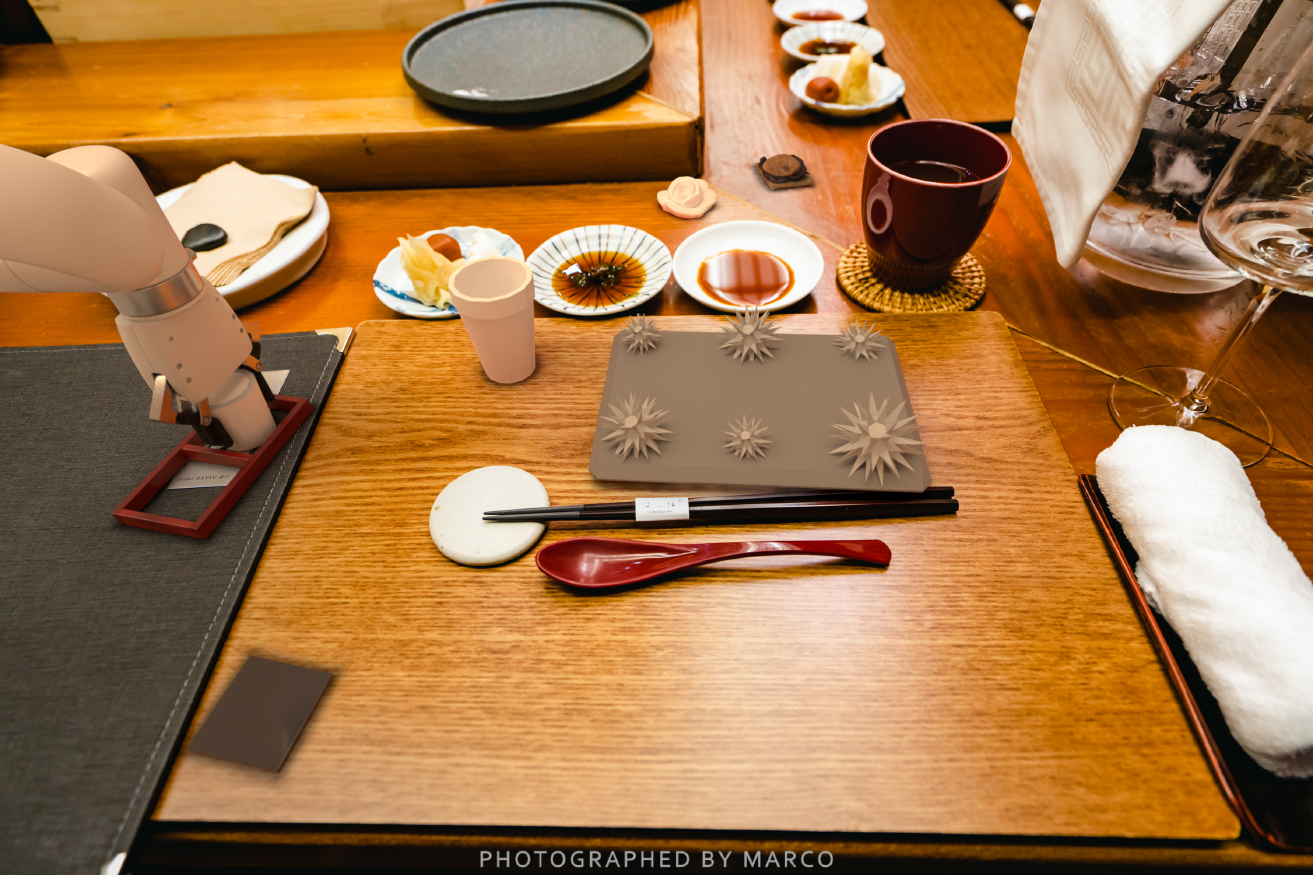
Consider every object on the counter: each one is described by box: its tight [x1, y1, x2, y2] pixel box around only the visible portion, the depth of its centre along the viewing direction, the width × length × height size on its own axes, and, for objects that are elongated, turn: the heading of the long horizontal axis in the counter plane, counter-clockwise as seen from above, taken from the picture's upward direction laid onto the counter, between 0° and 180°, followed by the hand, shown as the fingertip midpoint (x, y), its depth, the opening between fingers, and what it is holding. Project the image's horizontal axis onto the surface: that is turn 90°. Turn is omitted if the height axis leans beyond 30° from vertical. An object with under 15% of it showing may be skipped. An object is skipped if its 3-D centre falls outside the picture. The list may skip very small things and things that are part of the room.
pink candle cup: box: [191, 369, 277, 452], centre depth 76 cm, size 7×7×7 cm
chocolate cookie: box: [755, 153, 813, 190], centre depth 120 cm, size 11×8×4 cm
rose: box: [656, 176, 718, 219], centre depth 113 cm, size 10×4×10 cm
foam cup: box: [447, 255, 536, 384], centre depth 81 cm, size 10×9×13 cm
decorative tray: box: [587, 304, 933, 493], centre depth 75 cm, size 35×26×10 cm
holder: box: [110, 393, 314, 540], centre depth 75 cm, size 10×19×2 cm, turn 168°
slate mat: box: [186, 655, 335, 774], centre depth 55 cm, size 8×8×1 cm
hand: (242, 420), depth 77 cm, fingers closed on pink candle cup, 6 cm apart
